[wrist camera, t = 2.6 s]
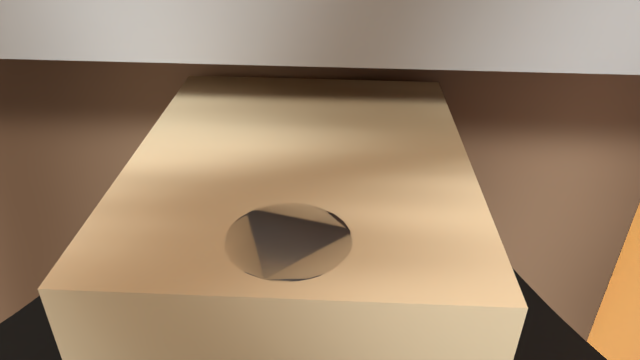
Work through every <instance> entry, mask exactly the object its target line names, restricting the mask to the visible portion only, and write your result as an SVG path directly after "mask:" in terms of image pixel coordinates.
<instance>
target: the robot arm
mask: <svg viewBox="0 0 640 360" xmlns="http://www.w3.org/2000/svg"><path fill="white" fill-rule="evenodd" d="M512 269H513V268H512ZM513 271H514V274H515V276H516V279H517V281H518V284H519V287H520V289H521V292H522V294H523V297H524V299H525V302H526V304H527V307H528V310H527V314H526V317H525V321H524V324H523V328H522V331H521V335H520V338H519V342H518V345H517V349H516V352H515V355H514V359H513V360H607V359H606V358H605V357H603V356H602V355H601V354H600V353H599V352H598V351H597V350H595V349H594V348H593V347H592V346H591V345H590V344H589V343H587V342H586V341H585V340H584V339H583V338H582V337H581V336H580V335H579V334H578V333H577V332H576V331H575V330H574V329H573V328H571V327H570V326H569V325H568V324H567V323H566V322H565V321H564V320H563V319H562V318H561V317H560V316H559V315H558V314H557V313H556V312H555V311H554V310H552V309H551V308H550V307H549V306H548V305H547V304H546V303H545V302H544V301H543V300H542V299H541V297H540V296H539V295H538V294H537V293H536V292H535V291H534V290H533V289H532V288H531V287H530V286H529V285H528V284H527V283H526V282H525V281H524V280H523V279H522V278H521V276H520V275H519V274H518V273H517V272H516V271H515V270H514V269H513ZM0 360H62V358H61V355H60V352H59V349H58V346H57V343H56V341H55V338H54V335H53V332H52V329H51V326H50V323H49V320H48V317H47V315H46V312H45V309H44V306H43V303H42V300H41V297H40V296H38V297H37V298H35V299H34V300H33V301H31V302H30V303H29V304H27V305H26V306H24V307H23V308H22V309H20V310H19V311H18V312H16V313H15V314H13V315H12V316H10V317H9V318H7V319H6V320H4V321H3V322H1V323H0Z"/></svg>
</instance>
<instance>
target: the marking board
mask: <svg viewBox="0 0 640 360" xmlns="http://www.w3.org/2000/svg"><path fill="white" fill-rule="evenodd" d="M189 76H225V77H263V78H300V79H338V80H376V81H414V82H438V83H439V85H440V88H441V90H442V93H443V95H444V98H445V100H446V103H447V105H448V108H449V110H450V113H451V115H452V118H453V120H454V123H455V125H456V128H457V130H458V133H459V135H460V138H461V140H462V143H463V145H464V148H465V151H466V153H467V156H468V158H469V161H470V163H471V166H472V168H473V171H474V173H475V176H476V178H477V181H478V183H479V186H480V188H481V191H482V193H483V196H484V198H485V201H486V203H487V206H488V208H489V211H490V213H491V216H492V219H493V221H494V224H495V226H496V229H497V231H498V234H499V236H500V239H501V241H502V244H503V246H504V249H505V251H506V254H507V256H508V259H509V261H510V264H511V266H512V268H513V269H514V270H515V271H516V272H517V273H518V274H519V275H520V276H521V278H522V279H523V280H524V281H525V282H526V283H527V284H528V285H529V286H530V287H531V288H532V289H533V290H534V291H535V292H536V293H537V294H538V295H539V296H540V297H541V299H542V300H543V301H544V302H545V303H546V304H547V305H548V306H549V307H550V308H551V309H552V310H554V311H555V312H556V313H557V314H558V315H559V316H560V317H561V318H562V319H563V320H564V321H565V322H566V323H567V324H568V325H569V326H570V327H571V328H573V329H574V330H575V331H576V332H577V333H578V334H579V335H580V336H581V337H582V338H583V339H584V340H585V341H587V339H588V336H589V333H590V331H591V328H592V325H593V323H594V320H595V318H596V315H597V312H598V310H599V307H600V304H601V302H602V299H603V297H604V294H605V291H606V289H607V286H608V284H609V281H610V278H611V276H612V273H613V270H614V268H615V265H616V263H617V260H618V257H619V255H620V252H621V249H622V247H623V244H624V242H625V239H626V236H627V234H628V231H629V229H630V226H631V223H632V221H633V218H634V215H635V213H636V210H637V208H638V205H639V202H640V0H0V323H1V322H3V321H4V320H6V319H7V318H9V317H10V316H12V315H13V314H15V313H16V312H18V311H19V310H20V309H22V308H23V307H24V306H26V305H27V304H29V303H30V302H31V301H33V300H34V299H35V298H37V297H38V296H40V294H39V291H38V288H39V286H40V285H41V284H42V282H43V281H44V279H45V278H46V277H47V275H48V274H49V272H50V271H51V269H52V268H53V267H54V265H55V264H56V262H57V261H58V260H59V258H60V257H61V255H62V254H63V253H64V251H65V250H66V248H67V247H68V246H69V244H70V243H71V241H72V240H73V239H74V237H75V236H76V234H77V233H78V232H79V230H80V229H81V227H82V226H83V225H84V223H85V222H86V220H87V219H88V217H89V216H90V215H91V213H92V212H93V210H94V209H95V208H96V206H97V205H98V203H99V202H100V201H101V199H102V198H103V196H104V195H105V194H106V192H107V191H108V189H109V188H110V187H111V185H112V184H113V182H114V181H115V180H116V178H117V177H118V175H119V174H120V173H121V171H122V170H123V168H124V167H125V165H126V164H127V163H128V161H129V160H130V158H131V157H132V156H133V154H134V153H135V151H136V150H137V149H138V147H139V146H140V144H141V143H142V142H143V140H144V139H145V137H146V136H147V135H148V133H149V132H150V130H151V129H152V128H153V126H154V125H155V123H156V122H157V121H158V119H159V118H160V116H161V115H162V113H163V112H164V111H165V109H166V108H167V106H168V105H169V104H170V102H171V101H172V99H173V98H174V97H175V95H176V94H177V92H178V91H179V90H180V88H181V87H182V85H183V84H184V83H185V81H186V80H187V78H188V77H189Z"/></svg>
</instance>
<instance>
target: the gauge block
mask: <svg viewBox="0 0 640 360" xmlns="http://www.w3.org/2000/svg"><path fill="white" fill-rule="evenodd" d="M38 291H39V294H40V297H41V300H42V303H43V306H44V309H45V312H46V315H47V317H48V320H49V323H50V326H51V329H52V332H53V335H54V338H55V341H56V343H57V346H58V349H59V352H60V355H61V358H62V360H513V359H514V355H515V352H516V349H517V345H518V342H519V338H520V335H521V331H522V328H523V324H524V321H525V317H526V314H527V310H528V307H527V304H526V302H525V299H524V297H523V294H522V292H521V289H520V287H519V284H518V281H517V279H516V276H515V274H514V271H513V269H512V266H511V264H510V261H509V259H508V256H507V254H506V251H505V249H504V246H503V244H502V241H501V239H500V236H499V234H498V231H497V229H496V226H495V224H494V221H493V219H492V216H491V213H490V211H489V208H488V206H487V203H486V201H485V198H484V196H483V193H482V191H481V188H480V186H479V183H478V181H477V178H476V176H475V173H474V171H473V168H472V166H471V163H470V161H469V158H468V156H467V153H466V151H465V148H464V145H463V143H462V140H461V138H460V135H459V133H458V130H457V128H456V125H455V123H454V120H453V118H452V115H451V113H450V110H449V108H448V105H447V103H446V100H445V98H444V95H443V93H442V90H441V88H440V85H439V83H438V82H414V81H376V80H338V79H300V78H263V77H225V76H189V77H188V78H187V80H186V81H185V83H184V84H183V85H182V87H181V88H180V90H179V91H178V92H177V94H176V95H175V97H174V98H173V99H172V101H171V102H170V104H169V105H168V106H167V108H166V109H165V111H164V112H163V113H162V115H161V116H160V118H159V119H158V121H157V122H156V123H155V125H154V126H153V128H152V129H151V130H150V132H149V133H148V135H147V136H146V137H145V139H144V140H143V142H142V143H141V144H140V146H139V147H138V149H137V150H136V151H135V153H134V154H133V156H132V157H131V158H130V160H129V161H128V163H127V164H126V165H125V167H124V168H123V170H122V171H121V173H120V174H119V175H118V177H117V178H116V180H115V181H114V182H113V184H112V185H111V187H110V188H109V189H108V191H107V192H106V194H105V195H104V196H103V198H102V199H101V201H100V202H99V203H98V205H97V206H96V208H95V209H94V210H93V212H92V213H91V215H90V216H89V217H88V219H87V220H86V222H85V223H84V225H83V226H82V227H81V229H80V230H79V232H78V233H77V234H76V236H75V237H74V239H73V240H72V241H71V243H70V244H69V246H68V247H67V248H66V250H65V251H64V253H63V254H62V255H61V257H60V258H59V260H58V261H57V262H56V264H55V265H54V267H53V268H52V269H51V271H50V272H49V274H48V275H47V277H46V278H45V279H44V281H43V282H42V284H41V285H40V286H39V288H38Z"/></svg>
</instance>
